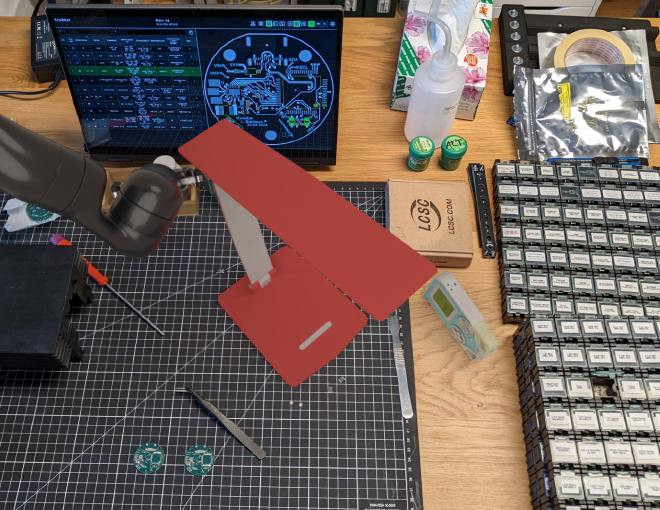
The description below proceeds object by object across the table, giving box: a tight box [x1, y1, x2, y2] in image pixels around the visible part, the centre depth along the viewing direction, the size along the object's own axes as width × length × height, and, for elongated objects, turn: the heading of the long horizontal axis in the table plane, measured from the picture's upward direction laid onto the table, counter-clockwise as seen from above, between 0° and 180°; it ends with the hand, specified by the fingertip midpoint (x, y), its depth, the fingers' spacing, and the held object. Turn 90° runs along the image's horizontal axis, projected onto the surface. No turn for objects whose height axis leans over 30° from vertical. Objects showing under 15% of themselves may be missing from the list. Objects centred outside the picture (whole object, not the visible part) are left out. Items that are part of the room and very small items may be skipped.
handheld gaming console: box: [420, 270, 499, 364], centre depth 103 cm, size 11×3×15 cm
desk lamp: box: [177, 118, 439, 388], centre depth 89 cm, size 18×38×40 cm, turn 43°
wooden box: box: [101, 164, 201, 217], centre depth 118 cm, size 9×17×4 cm, turn 94°
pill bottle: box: [153, 155, 189, 201], centre depth 115 cm, size 5×5×10 cm
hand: (162, 178), depth 104 cm, fingers open, 8 cm apart
